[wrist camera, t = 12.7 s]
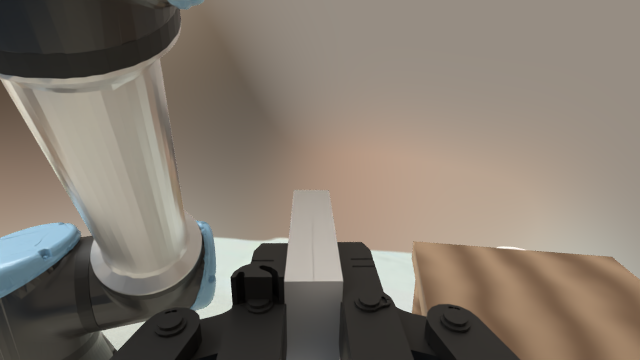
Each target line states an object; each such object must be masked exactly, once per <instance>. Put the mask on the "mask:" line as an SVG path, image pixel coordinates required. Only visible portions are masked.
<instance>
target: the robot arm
mask: <svg viewBox="0 0 640 360" xmlns="http://www.w3.org/2000/svg"><path fill="white" fill-rule="evenodd" d="M203 1H204V0H0V79H1V81H2V83H3V84H4V86H5V88H6V89H7V91H8V93H9V95H10V96H11V98H12V100H13V101H14V103H15V105H16V106H17V108H18V110H19V112H20V113H21V115H22V117H23V118H24V120H25V122H26V124H27V125H28V127H29V129H30V130H31V132H32V134H33V135H34V137H35V139H36V141H37V142H38V144H39V146H40V147H41V149H42V151H43V153H44V154H45V156H46V157H47V159H48V161H49V163H50V164H51V166H52V168H53V170H54V171H55V173H56V174H57V176H58V178H59V180H60V181H61V183H62V185H63V187H64V188H65V190H66V192H67V193H68V195H69V196H70V198H71V200H72V202H73V204H74V205H75V207H76V209H77V210H78V212H79V214H80V215H81V217H82V219H83V221H84V222H85V224H86V226H87V227H88V229H89V231H90V233H91V234H92V236H87V237H81V233H80V231H79V230H78V229H77V227H76V226H74V225H73V224H69V223H67V224H64V223H51V224H44V225H40V226H35V227H31V228H27V229H24V230H21V231H17V232H15V233H12V234H9V235H6V236H4V237H1V238H0V360H520V359H519V358H518V357H517V356H516V355H515V354H514V353H513V352H512V351H511V350H510V349H509V348H508V347H507V346H506V345H505V344H504V343H503V342H502V341H501V340H500V339H499V338H498V337H497V336H496V335H495V334H494V333H493V332H492V331H491V330H490V329H489V328H488V327H487V326H486V325H485V324H484V323H483V322H482V321H481V320H480V319H479V318H478V317H477V316H476V315H475V314H473V313H472V312H471V311H469V310H467V309H465V308H463V307H460V306H457V305H452V304H438V305H436V306H433V307H431V308H430V309H429V311H428V312H427V316H422V315H417V314H413V313H409V312H406V311H403V310H401V309H399V308H397V307H395V304H394V302H393V300H392V299H391V297H390V296H388V295H387V294H385V293H384V292H383V289H382V285H381V282H380V279H379V276H378V273H377V270H376V267H375V264H374V261H373V257H372V254H371V251H370V249H369V248H368V247H366V246H365V245H364V244H363V243H362V242H337V240H336V233H335V226H334V220H333V214H332V207H331V201H330V194H329V190H294V195H293V205H292V213H291V223H290V232H289V241H288V243H262V244H261V245H260V246H259V247H258V248H257V249H256V250H255V251H254V253H253V257H252V262H251V264H248V265H245V266H242V267H240V268H239V269H237V270H236V271H235V272H234V273H233V274H232V276H231V289H232V302H233V305H232V309H230V310H229V311H227V312H225V313H223V314H220V315H216V316H213V317H209V318H205V319H200V318H199V315H198V314H197V313H196V312H195V310H199V309H202V308H205V307H207V306H208V305H209V304H210V303H211V301H212V300H213V297H214V293H215V286H216V278H215V273H216V257H215V246H214V239H213V234H212V230H211V228H210V226H209V225H208V224H207V223H206V222H203V221H200V222H199V221H196V220H195V219H194V218H193V217H192V216H191V215H190V214H189V213H187V212H186V211H184V208H183V202H182V195H181V189H180V184H179V177H178V171H177V164H176V158H175V151H174V145H173V139H172V132H171V126H170V121H169V114H168V107H167V102H166V95H165V89H164V82H163V76H162V70H161V64H160V57H162V56H163V55H164V54H166V53H167V52H168V51H169V50H170V49H171V48H172V46H174V44H175V43H176V41H177V39H178V37H179V34H180V31H181V17H180V9H189V8H190V7H191V6H194V5H199V4H201V3H203ZM144 321H146V322H145V323H144V324H143V325H142V326H141V327H140V328H139V329H138V330H137V331H136V332H135V333H134V334H133V335H132V336H131V337H130V339H129V340H128V341H127V342H126V343H125V344H124V345H123V346H122V347H121V348H120V349H119V350H118V351H117V350H116V349H115V348H114V346H113V345H112V344H111V343H110V341H109V340H108V339H107V338H106V337H105V335H104V334H103V333H102V332H101V331H102V330H107V329H111V328H116V327H121V326H125V325H130V324H135V323H140V322H144Z"/></svg>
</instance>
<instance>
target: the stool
mask: <svg viewBox="0 0 640 360" xmlns="http://www.w3.org/2000/svg"><path fill="white" fill-rule="evenodd" d="M412 262H413V267H414V273H415V279H416V280H415V290H414V299H413V309H412V313H413V314H417V315H422V316H427V312H428V311H429V309H430V308H431V307H433V306H436V305H438V304H452V305H457V306H460V307H463V308H465V309H467V310H469V311H471V312H472V313H473V314H475V315H476V316H477V317H478V318H479V319H480V320H481V321H482V322H483V323H484V324H485V325H486V326H487V327H488V328H489V329H490V330H491V331H492V332H493V333H494V334H495V335H496V336H497V337H498V338H499V339H500V340H501V341H502V342H503V343H504V344H505V345H506V346H507V347H508V348H509V349H510V350H511V351H512V352H513V353H514V354H515V355H516V356H517V357H518V358H519V359H520V360H640V280H639V279H638V278H637V277H636V276H634V275H633V274H632V273H631V272H630V271H628V270H627V269H626V268H625V267H623V266H622V265H621V264H620V263H618V262H617V261H616V260H615V259H614V258H612V257H606V256H592V255H579V254H567V253H554V252H541V251H529V250H516V249H503V248H491V247H478V246H465V245H452V244H439V243H426V242H413V251H412Z"/></svg>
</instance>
